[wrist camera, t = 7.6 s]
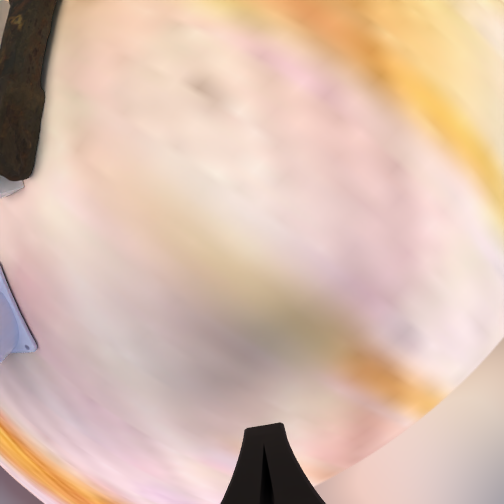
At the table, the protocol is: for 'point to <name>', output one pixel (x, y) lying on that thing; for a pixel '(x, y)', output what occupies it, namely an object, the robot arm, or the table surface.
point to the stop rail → (3, 186)
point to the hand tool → (22, 84)
